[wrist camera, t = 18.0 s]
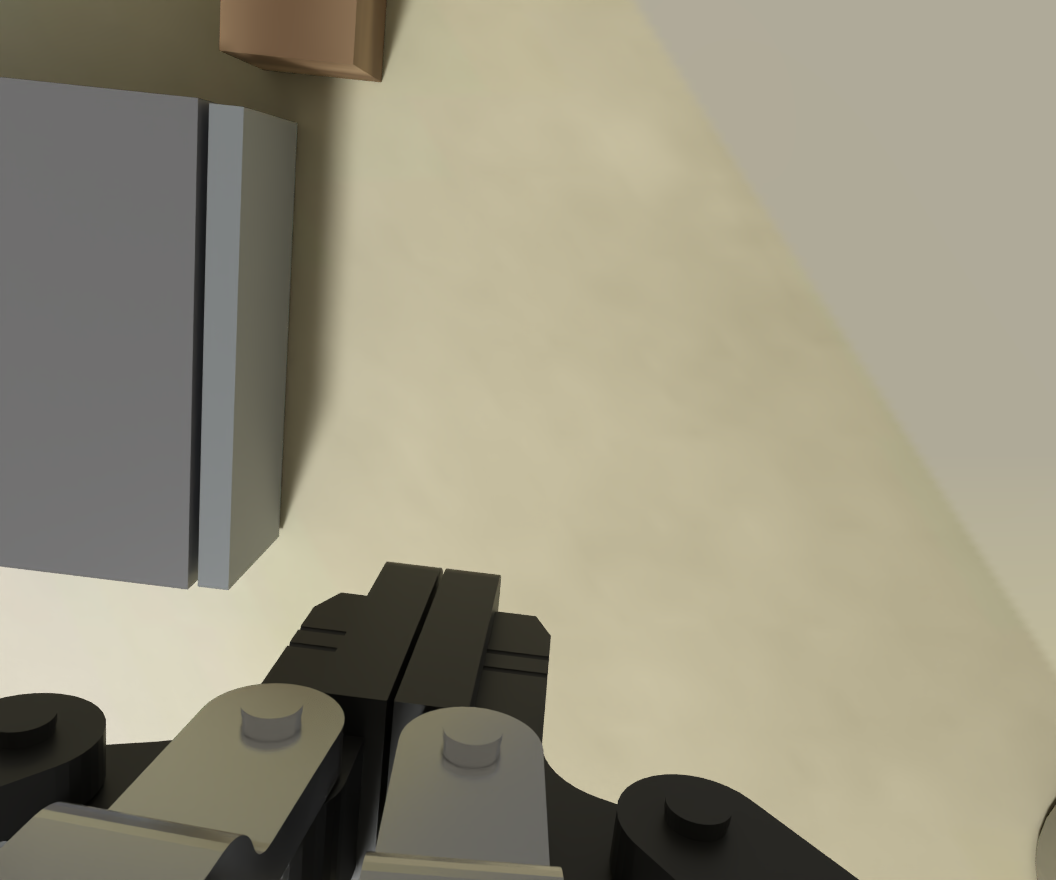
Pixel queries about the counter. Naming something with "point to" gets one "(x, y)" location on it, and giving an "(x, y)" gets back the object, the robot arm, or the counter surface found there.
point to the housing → (101, 330)
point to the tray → (244, 337)
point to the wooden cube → (307, 36)
